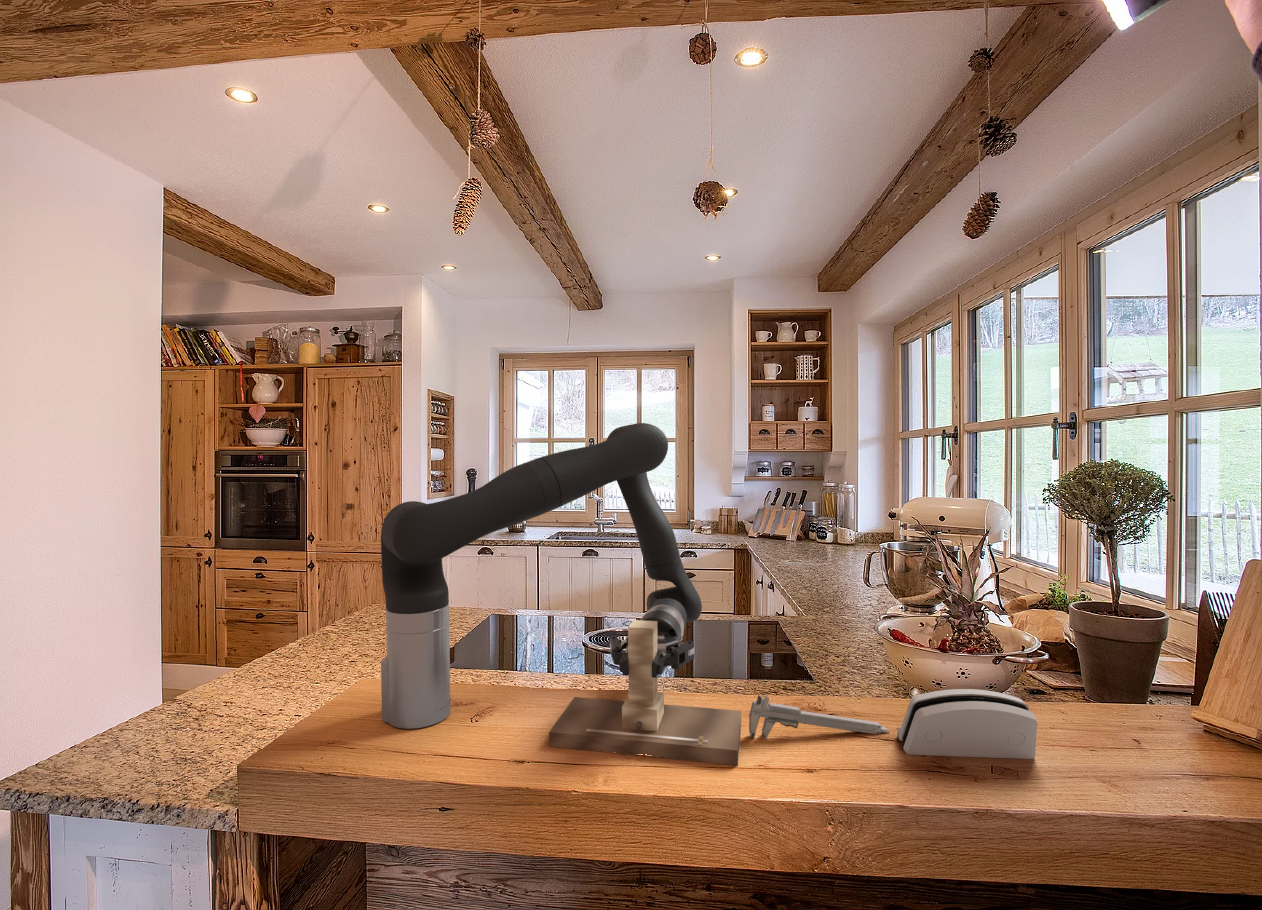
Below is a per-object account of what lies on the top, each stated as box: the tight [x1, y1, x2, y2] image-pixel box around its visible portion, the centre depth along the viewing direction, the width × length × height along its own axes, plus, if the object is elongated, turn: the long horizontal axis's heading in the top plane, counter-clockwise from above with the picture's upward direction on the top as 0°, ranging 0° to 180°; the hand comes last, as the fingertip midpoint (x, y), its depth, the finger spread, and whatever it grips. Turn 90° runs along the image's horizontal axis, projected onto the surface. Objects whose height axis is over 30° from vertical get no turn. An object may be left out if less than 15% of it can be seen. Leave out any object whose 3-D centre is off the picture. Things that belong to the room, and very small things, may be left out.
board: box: [548, 696, 742, 766], centre depth 89 cm, size 26×12×2 cm, turn 78°
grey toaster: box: [896, 688, 1038, 760], centre depth 83 cm, size 17×5×10 cm, turn 85°
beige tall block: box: [622, 619, 665, 731], centre depth 89 cm, size 5×7×14 cm
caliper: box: [748, 693, 890, 739], centre depth 89 cm, size 20×1×6 cm, turn 94°
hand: (639, 669), depth 87 cm, fingers closed on beige tall block, 3 cm apart
